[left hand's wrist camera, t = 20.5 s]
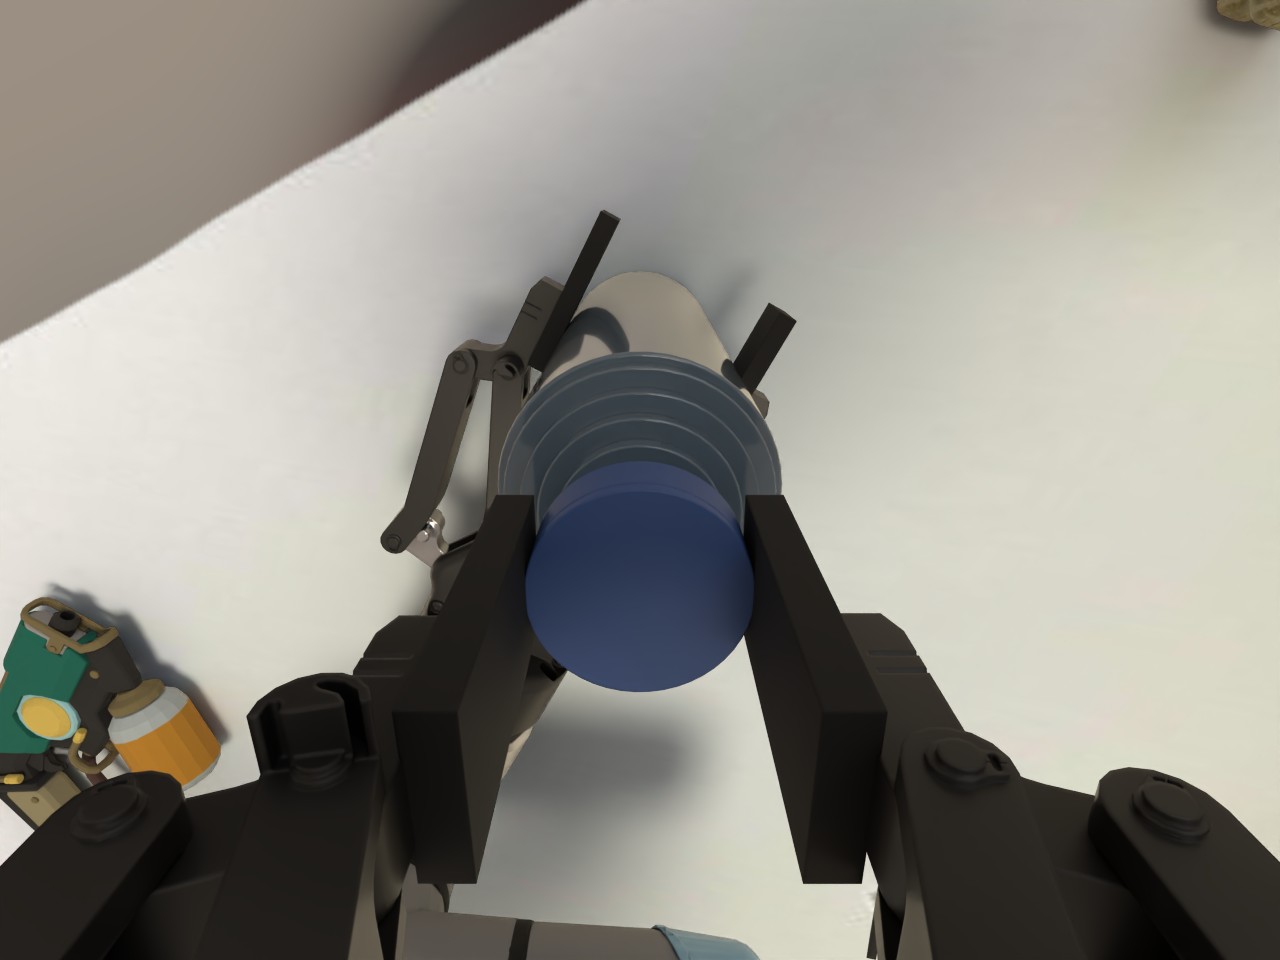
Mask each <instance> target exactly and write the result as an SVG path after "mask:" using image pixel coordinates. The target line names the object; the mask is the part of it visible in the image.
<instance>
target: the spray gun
mask: <svg viewBox="0 0 1280 960" xmlns="http://www.w3.org/2000/svg"><path fill="white" fill-rule="evenodd" d="M41 605H47V606H50V607H52V608H54V609H56V610H58V611H59V612H56V613H54V614H53V613H51V612H48V611H32V612H30V611H31V610H33V609H34V608H36V607H38V606H41ZM28 612H29V613H28ZM20 615H21V621H20V623H19V625H18V628H17V630H16V632H15V635H14V637H13V639H12V641H11V644H10V646H9V648H8V651H7V653H6V655H5V658H4V663H3V666H4V669H5V670H6V672H5V674H4V676H3V679H2V681H1V683H0V799H1V800H2V801H4V802H5V803H6V804H7V805H8V806H9V807H10V808H11V809H12V810H13V811H14V812H15V813H16V814H17V815H19V816H20V817H21V818H22V819H23V820H24V821H25V822H26V823H27V824H28V825H29V826H30V827H31V828H32V829H34V830H36V829H37V828H38V827H39V826H40V825H41V824H42V823H43V822H44V821H45V820H46V819H47V818H48V817H49V816H50V815H51V814H52V813H54V812H55V811H56V810H57V809H59V808H60V807H61V806H62V805H64V804H65V803H66V802H67V801H68V800H70V799H71V798H72V797H73V796H75V795H77V794H79V793H81V791H80V790H79V789H78V787H77V786H76V785H75V784H74V783H73V782H72V781H71V780H70V778H69V777H68V776H67V775H66V774H65V773H64V772H62V770H65V769H66V768H67V767H68V766H67V765H66V763H62V762H59V761H57V760H56V759H55V758H54V756H53V755H52V753H51V750H50V747H51V746H57V747H67V748H70V749H69V752H68V758H69V761H70V762H71V763H72V765H73V766H74V767H76V768H77V769H78V770H80V771H82V772H84V773H85V774H86V776H87V778H88V779H89V780H90V782H91V783H92V784H93V785H96V784H97V783H99V782H102V781H105V780H107V778H106V777H105V776H104V775H103V774H102V772H101V771H102V770H103V769H104V768H106V767H107V766H108V765H110V764H111V763H112V762H113V760H114V759H115V758H116V756H117V755H118V754H119V753H120V755H121V756H122V758H123V759H124V761H125V762H126V764H127V765H128V767H129V768H130V770H131V771H132V772H141V771H149V770H153V771H158V772H163V773H168V774H171V775H172V776H173V777H174V778H175V779H176V780H177V781H179V782H180V783H181V786H182V789H183V792H184V791H185V790H187V789H189V788H191V787H193V786H194V785H196V784H197V783H198V782H200V781H201V780H202V779H204V778H205V777H206V776H207V775H208V774H210V773H211V772H212V770H213V769H214V767H215V766H216V764H217V762H218V759H219V757H220V754H221V745H220V744H219V742H218V741H217V739H216V738H215V736H214V735H213V733H212V732H211V730H210V729H209V727H208V726H207V724H206V723H205V721H204V720H203V718H202V717H201V715H200V714H199V712H198V711H197V709H196V708H195V706H194V705H193V703H192V702H191V700H190V699H189V697H188V696H187V695H185V694H184V693H183V692H182V691H180V690H179V689H177V688H176V687H166V686H165V685H164V684H163V682H162V681H161V680H159V679H157V678H156V679H149V680H142V678H141V675H140V673H139V671H138V669H137V667H136V666H135V664H134V662H133V660H132V659H131V657H130V655H129V653H128V651H127V650H126V648H125V646H124V644H123V642H122V641H121V639H120V637H117V636H118V635H119V633H118V631H117V630H116V628H115V627H108V628H104V627H102V626H100V625H99V624H97V623H95V622H93V621H92V620H90V619H88V618H86V617H85V616H83V615H81V614H79V613H78V612H76V611H74V610H72V609H71V608H69V607H67V606H65V605H64V604H62V603H60V602H58V601H57V600H55V599H52V598H49V597H41V598H38V599H36V600H34V601H32V602H30V603H29V604H27V605H26V606H25V607H24V608H23V610H22V612H21V614H20ZM87 628H90V629H92V630H93V631H95V632H97V633H99V634H100V635H102V636H99V637H97V635H96V633H95V632H93V631H90V632H88V633H85V632H86V630H87ZM114 693H118V694H117V696H116V698H115V699H114V700H113V701H112V702H111V703H110V700H111V698H112V696H113V694H114ZM109 738H110V739H111V740H109ZM104 748H106V749H108V750H109V751H110V753H109V754H108V755H107V756H106V757H105V759H104V760H102V761H101V762H100V763H99V764H98V765H97V763H96V756H97V755H98V754H99V753H100V752H101V751H102V750H103V749H104ZM78 750H80V751H82V752H83V753H82V759H81V758H80V757H79V755H78Z"/></svg>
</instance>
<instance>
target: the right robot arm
mask: <svg viewBox="0 0 1280 960" xmlns="http://www.w3.org/2000/svg"><path fill="white" fill-rule="evenodd" d="M619 222H620V219H619V218H618V217H616V216H614V215H612V214H610V213H609V212H607V211H605V210H603V211H601V212H600V214H599V216H598V218H597V220H596V222H595V224H594V226H593V228H592V230H591V233H590V235H589V237H588V239H587V241H586V243H585V245H584V247H583V249H582V251H581V253H580V255H579V258H578V260H577V262H576V264H575V266H574V268H573V270H572V272H571V274H570V276H569V278H568V280H567V283H566V285H565V286H563V285H561V284H559V283H557V282H555V281H553V280H551V279H550V278H548V277H546V276H545V277H544V278H542V279H541V280H540V281H539V282H538V283H537V284H536V285H535V286H533V287H532V288H531V290H530V292H529V294H528V296H527V298H526V300H525V303H524V305H523V307H522V309H521V311H520V313H519V315H518V318H517V320H516V322H515V324H514V326H513V328H512V331H511V333H510V335H509V337H508V339H507V341H506V342H505V343H503V344H500V345H491V344H484V343H481V342H479V341H478V340H468V341H466V342H464V343H463V344H462V345H460V346H459V347H458V348H457V349H455V350H454V351H453V352H452V353H451V354H450V355H449V356H448V358H447V359H446V362H445V366H444V369H443V373H442V376H441V380H440V383H439V387H438V390H437V394H436V397H435V401H434V404H433V408H432V411H431V415H430V418H429V422H428V425H427V429H426V432H425V436H424V439H423V443H422V446H421V450H420V453H419V457H418V460H417V464H416V467H415V471H414V474H413V478H412V481H411V485H410V488H409V492H408V495H407V499H406V502H405V505H404V507H403V508H402V509H401V510H400V511H399V513H398V514H397V515H396V517H395V518H394V519H393V521H392V522H391V523H390V524H389V526H388V527H387V528H386V530H385V531H384V532H383V534H382V536H381V544H382V547H383V548H384V549H385V550H386V551H388V552H390V553H395V554H397V553H401V552H403V551H404V550H405V549H406V550H407V551H409V552H410V553H412V554H413V555H414V556H416V557H417V558H419V559H420V560H421V561H423V562H424V563H426V564H427V565H429V566H430V567H431V582H432V591H431V595H430V597H429V599H428V601H427V603H426V605H425V607H424V609H423V611H422V613H421V615H420V616H438V614H439V612H440V610H441V608H442V606H443V604H444V602H445V600H446V598H447V596H448V594H449V592H450V589H451V587H452V585H453V583H454V581H455V579H456V577H457V575H458V573H459V571H460V569H461V567H462V565H463V562H464V560H465V558H466V556H467V554H468V552H469V550H470V548H471V546H472V544H473V542H474V540H475V538H476V536H477V533H478V531H479V530H478V531H476V532H474V533H472V534H470V535H468V536H465V537H463V538H461V539H459V540H457V541H455V542H452V543H450V544H448V543H447V542H445V540H444V539H443V536H442V531H443V528H444V526H445V519H444V517H443V515H442V512H441V511H440V510H438V509H436V508H437V506H438V505H439V503H440V502H441V500H442V498H443V496H444V494H445V492H446V489H447V486H448V483H449V480H450V477H451V474H452V470H453V467H454V464H455V461H456V457H457V454H458V451H459V447H460V444H461V441H462V438H463V434H464V431H465V428H466V425H467V421H468V418H469V415H470V412H471V408H472V405H473V402H474V399H475V395H476V392H477V389H478V386H479V382H480V379H481V380H488V381H493V382H492V401H491V420H490V440H489V459H488V478H487V497H486V511H485V515H484V519H485V517H486V515H487V513H488V511H489V509H490V507H491V504H492V502H493V500H494V498H495V496H496V495H498V471H499V463H500V458H501V454H502V449H503V446H504V444H505V441H506V438H507V435H508V433H509V431H510V429H511V427H512V425H513V423H514V421H515V420H516V418H517V416H518V414H519V412H520V411H521V409H522V407H523V405H524V403H525V402H526V400H527V398H528V396H529V386H530V372H531V367H533V368H535V369H537V370H539V371H541V372H542V371H543V370H544V368H545V366H546V364H547V363H548V361H549V359H550V357H551V355H552V354H553V352H554V350H555V348H556V347H557V345H558V343H559V341H560V339H561V338H562V336H563V334H564V332H565V331H566V329H567V327H568V325H569V323H570V321H571V319H572V317H573V315H574V313H575V311H576V309H577V307H578V305H579V303H580V301H581V299H582V297H583V295H584V293H585V291H586V289H587V287H588V285H589V283H590V281H591V279H592V276H593V274H594V272H595V270H596V268H597V266H598V264H599V262H600V260H601V258H602V256H603V254H604V252H605V250H606V248H607V246H608V244H609V242H610V240H611V238H612V236H613V234H614V232H615V230H616V228H617V226H618V224H619ZM796 322H797V321H796V320H795V319H793V318H792V317H791V316H790V315H788V314H787V313H786V312H784V311H783V310H781V309H779V308H778V307H776V306H774V305H772V304H770V303H768V305H767V307H766V309H765V310H764V312H763V314H762V315H761V317H760V319H759V320H758V322H757V324H756V326H755V327H754V329H753V331H752V332H751V334H750V336H749V338H748V339H747V341H746V343H745V344H744V346H743V348H742V349H741V351H740V353H739V355H738V356H737V358H736V360H735V361H734V363H733V365H734V366H735V368H736V370H737V372H738V374H739V375H740V377H741V379H742V381H743V383H744V384H745V386H746V388H747V390H748V391H749V393H750V395H751V397H752V399H753V400H754V402H755V404H756V406H757V407H758V409H759V411H760V413H761V415H762V416H763V418H764V419H765V417H766V416H767V413H768V407H769V401H768V399H767V398H766V396H765V395H764V393H762V392H760V391H758V390H756V388H757V386H758V384H759V383H760V381H761V380H762V378H763V376H764V375H765V373H766V371H767V370H768V368H769V366H770V365H771V363H772V361H773V360H774V358H775V356H776V355H777V353H778V351H779V350H780V348H781V346H782V345H783V343H784V342H785V340H786V338H787V337H788V335H789V333H790V332H791V330H792V328H793V327H794V325H795V323H796ZM567 671H568V670H567V669H566V668H565V667H563V666H562V665H561V664H559V663H558V662H557V661H556V660H555V659H554V658H553V657H552V656H551V655H550V654H549V653H548V652H547V650H546V649H545V648H544V646H543V645H542V644H541V643H540V641H539V639H538V638H537V636H536V635H535V639H534V643H533V648H532V652H531V656H530V660H529V664H528V669H527V673H526V677H525V681H524V685H523V690H522V694H521V698H520V702H519V707H518V711H517V715H516V719H515V723H514V728H513V732H512V736H511V740H510V744H509V749H508V753H507V757H506V761H505V765H504V770H503V774H502V778H501V781H502V779H503V778H504V776H505V775H506V773H507V771H508V770H509V768H510V767H511V765H512V763H513V762H514V760H515V758H516V757H517V755H518V753H519V752H520V750H521V749H522V747H523V745H524V744H525V742H526V740H527V739H528V737H529V736H530V733H531V731H532V728H533V725H534V724H535V723H536V722H537V721H538V719H539V718H540V716H541V715H542V713H543V711H544V710H545V708H546V706H547V705H548V703H549V701H550V699H551V698H552V696H553V694H554V693H555V691H556V689H557V688H558V686H559V684H560V683H561V681H562V679H563V678H564V676H565V674H566V673H567ZM500 783H501V782H500ZM453 885H454V884H418V882H417V875H416V869H415V862H414V856H412V859H411V862H410V865H409V868H408V871H407V873H406V876H405V879H404V882H403V885H402V889H403V896H404V902H405V909H406V925H405V936H404V948H403V959H402V960H760V959H759V957H758V956H757V955H756V954H755V952H754V951H753V950H752V949H751V948H750V947H749V946H747V945H746V944H744V943H742V942H740V941H738V940H735V939H730V938H724V937H717V936H711V935H705V934H699V933H693V932H687V931H681V930H675V929H669V928H667V927H665V926H663V925H655V926H653V927H652V928H651V929H649V928H633V927H616V926H600V925H583V924H567V923H550V922H534V920H533V921H532V920H525V919H518V918H506V917H494V916H482V915H470V914H458V913H448V909H449V900H450V896H451V892H452V889H453Z"/></svg>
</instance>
